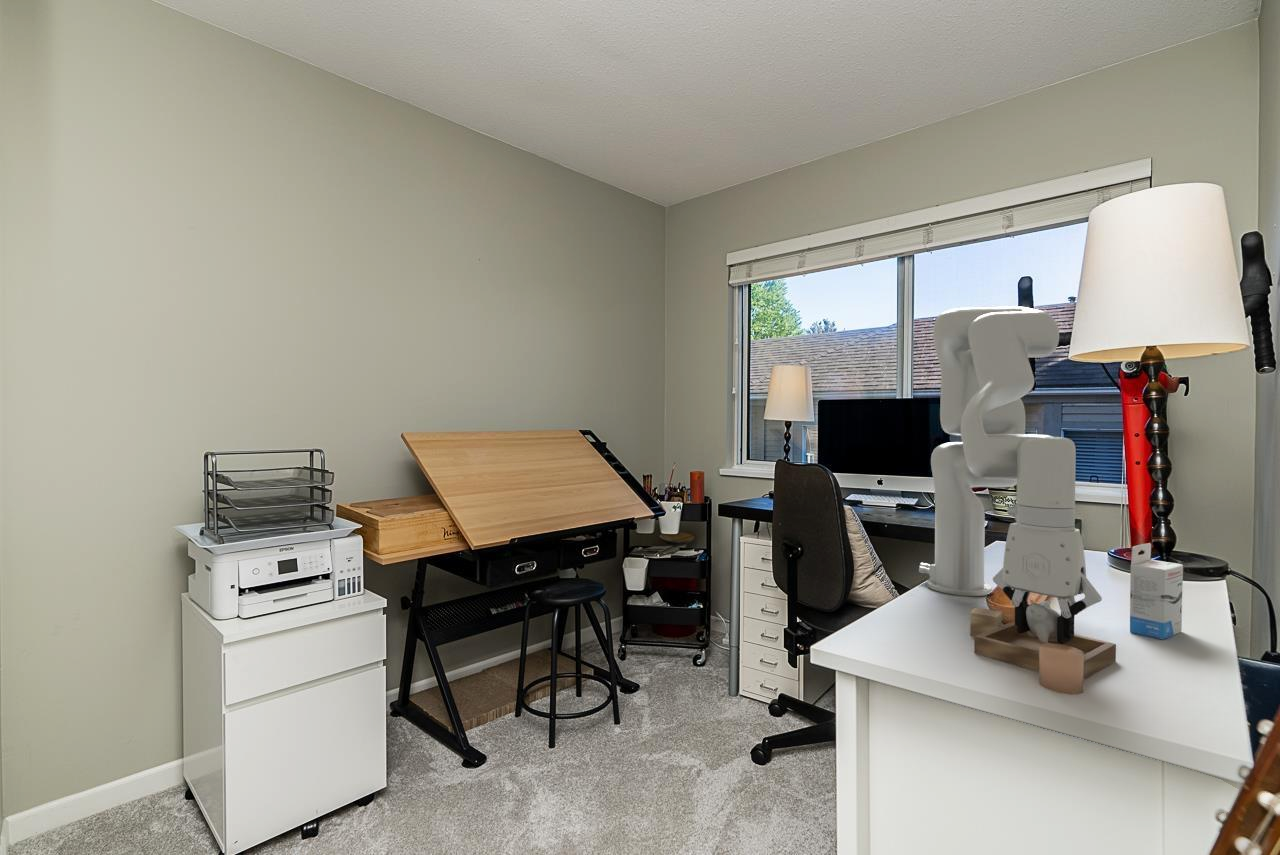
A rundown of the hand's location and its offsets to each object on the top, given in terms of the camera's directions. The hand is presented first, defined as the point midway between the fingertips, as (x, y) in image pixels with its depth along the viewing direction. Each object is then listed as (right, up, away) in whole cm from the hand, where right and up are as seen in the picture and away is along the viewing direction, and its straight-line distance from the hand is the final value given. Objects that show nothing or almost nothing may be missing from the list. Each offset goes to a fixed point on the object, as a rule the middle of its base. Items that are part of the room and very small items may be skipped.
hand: (1043, 635), depth 96 cm
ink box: (+27, -4, +12) cm, 30 cm away
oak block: (-3, -3, +10) cm, 11 cm away
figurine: (0, -1, 0) cm, 1 cm away
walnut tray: (0, -3, 0) cm, 3 cm away
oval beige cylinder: (-5, -3, -11) cm, 12 cm away
